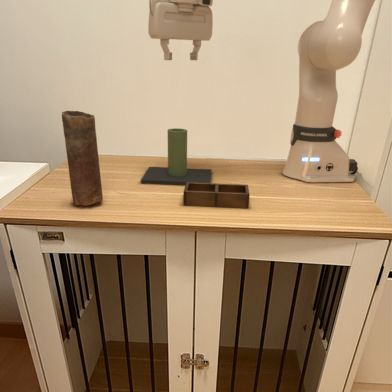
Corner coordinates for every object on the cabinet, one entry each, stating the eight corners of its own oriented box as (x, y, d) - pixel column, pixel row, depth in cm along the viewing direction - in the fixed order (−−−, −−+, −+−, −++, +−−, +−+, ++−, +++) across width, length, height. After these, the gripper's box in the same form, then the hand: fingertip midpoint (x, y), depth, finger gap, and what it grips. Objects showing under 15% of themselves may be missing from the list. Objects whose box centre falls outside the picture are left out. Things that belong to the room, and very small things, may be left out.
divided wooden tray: (246, 198, 110) (248, 184, 108) (248, 208, 103) (249, 194, 101) (186, 195, 110) (186, 182, 108) (183, 205, 103) (183, 191, 101)
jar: (187, 172, 126) (187, 128, 119) (185, 177, 122) (186, 132, 114) (169, 171, 126) (168, 128, 119) (167, 176, 122) (166, 131, 115)
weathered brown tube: (91, 197, 107) (80, 109, 95) (110, 203, 103) (101, 112, 91) (67, 203, 102) (52, 111, 90) (85, 210, 99) (73, 115, 87)
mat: (211, 172, 131) (211, 169, 130) (209, 186, 118) (210, 182, 117) (149, 169, 131) (149, 166, 131) (141, 183, 118) (140, 179, 118)
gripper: (157, -9, 99) (158, 60, 108) (217, -2, 111) (214, 60, 119) (141, -8, 103) (144, 59, 111) (201, -1, 114) (200, 59, 122)
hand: (181, 60), depth 115 cm, fingers open, 8 cm apart
